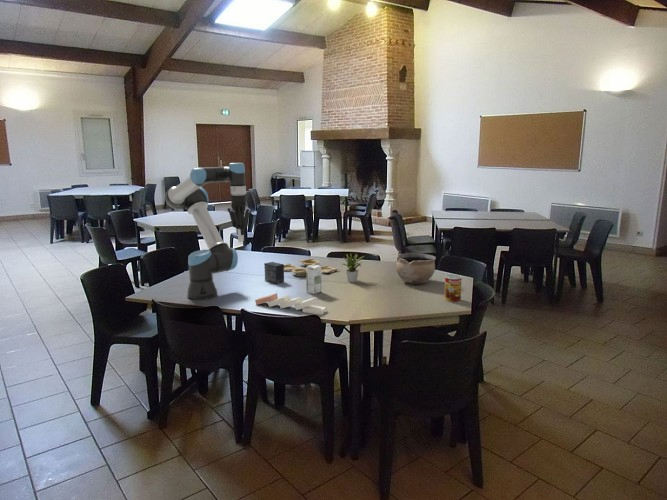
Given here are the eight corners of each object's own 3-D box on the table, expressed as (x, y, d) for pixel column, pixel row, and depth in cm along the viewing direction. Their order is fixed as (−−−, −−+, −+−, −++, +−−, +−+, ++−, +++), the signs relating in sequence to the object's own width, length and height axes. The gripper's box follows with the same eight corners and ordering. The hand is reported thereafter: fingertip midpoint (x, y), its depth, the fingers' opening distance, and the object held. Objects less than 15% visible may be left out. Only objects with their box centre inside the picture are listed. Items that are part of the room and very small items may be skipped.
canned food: (450, 303, 242) (451, 279, 240) (441, 299, 249) (441, 275, 247) (463, 301, 245) (464, 277, 243) (454, 296, 252) (454, 274, 250)
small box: (285, 281, 285) (284, 264, 283) (276, 284, 280) (275, 266, 278) (273, 278, 292) (272, 261, 290) (264, 280, 287) (263, 263, 285)
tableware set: (342, 272, 304) (341, 266, 304) (300, 280, 288) (300, 273, 288) (311, 262, 333) (311, 256, 332) (272, 268, 317) (272, 262, 316)
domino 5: (302, 307, 233) (321, 310, 229) (307, 304, 237) (326, 307, 233) (302, 312, 233) (321, 315, 229) (307, 309, 238) (326, 312, 233)
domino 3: (279, 303, 238) (294, 299, 232) (285, 300, 242) (300, 296, 236) (280, 308, 238) (296, 304, 232) (287, 305, 242) (302, 301, 237)
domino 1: (254, 300, 244) (270, 296, 239) (260, 297, 248) (276, 293, 243) (256, 304, 244) (271, 300, 239) (262, 301, 249) (277, 298, 244)
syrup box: (313, 290, 267) (312, 263, 264) (321, 292, 264) (321, 265, 261) (306, 292, 263) (305, 266, 260) (314, 294, 259) (314, 267, 256)
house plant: (363, 285, 275) (363, 256, 271) (338, 284, 277) (338, 255, 274) (366, 278, 288) (366, 251, 285) (343, 277, 291) (342, 250, 288)
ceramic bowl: (387, 282, 280) (387, 256, 276) (409, 275, 295) (410, 250, 292) (421, 290, 265) (421, 262, 262) (442, 281, 280) (443, 255, 277)
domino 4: (294, 305, 234) (310, 300, 229) (299, 302, 238) (316, 296, 233) (296, 310, 234) (312, 304, 229) (301, 306, 238) (318, 301, 233)
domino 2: (267, 302, 241) (283, 297, 235) (273, 299, 245) (289, 294, 240) (269, 307, 241) (284, 302, 235) (275, 304, 245) (290, 299, 240)
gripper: (223, 194, 245) (225, 241, 250) (244, 195, 240) (247, 243, 245) (232, 193, 252) (234, 239, 257) (253, 194, 247) (256, 240, 252)
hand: (240, 241), depth 251 cm, fingers closed
